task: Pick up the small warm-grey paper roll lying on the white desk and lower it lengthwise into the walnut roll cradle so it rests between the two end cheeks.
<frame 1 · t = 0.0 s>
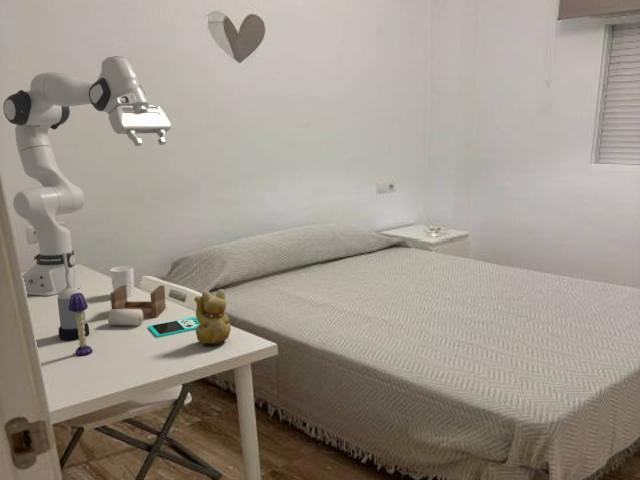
hand: (151, 144, 170), 54 cm above the table, tool tilted 30°, fingers open, 8 cm apart
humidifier: (74, 336, 162), on the table
roll: (126, 325, 170), on the table
toy lamp: (83, 354, 149), on the table
holder: (139, 312, 181), on the table
handheld game console: (178, 329, 168), on the table
white cup: (124, 295, 200), on the table
decorative figurine: (214, 343, 155), on the table
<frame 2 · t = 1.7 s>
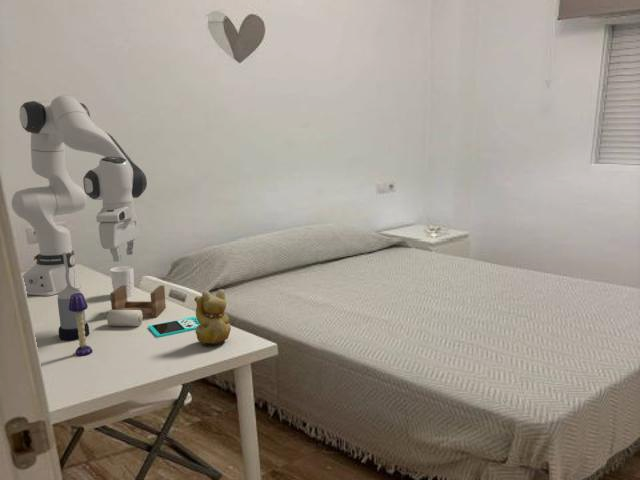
hand: (124, 257, 166), 21 cm above the table, tool pointing down, fingers open, 8 cm apart
roll: (126, 324, 170), on the table, tilted 12°
everything else where it was.
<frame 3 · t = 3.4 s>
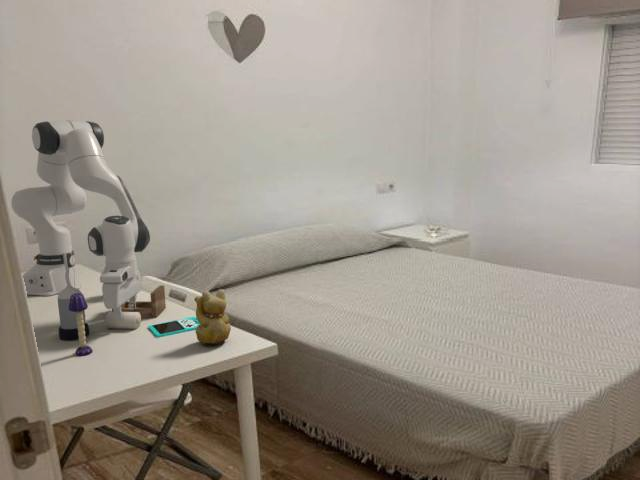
hand: (126, 313, 169), 4 cm above the table, tool pointing down, fingers open, 8 cm apart
roll: (126, 321, 170), point 1 cm above the table, tilted 62°, touching gripper
everything else where it was.
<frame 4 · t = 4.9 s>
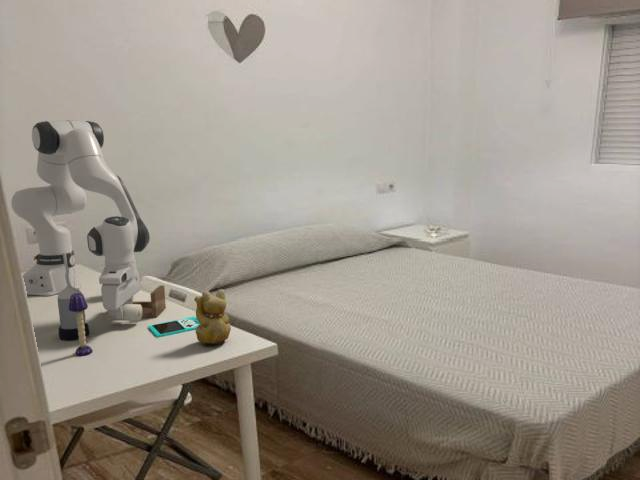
hand: (124, 314, 170), 3 cm above the table, tool pointing down, fingers closed on roll, 5 cm apart
roll: (126, 319, 171), point 1 cm above the table, tilted 14°, touching gripper
everything else where it was.
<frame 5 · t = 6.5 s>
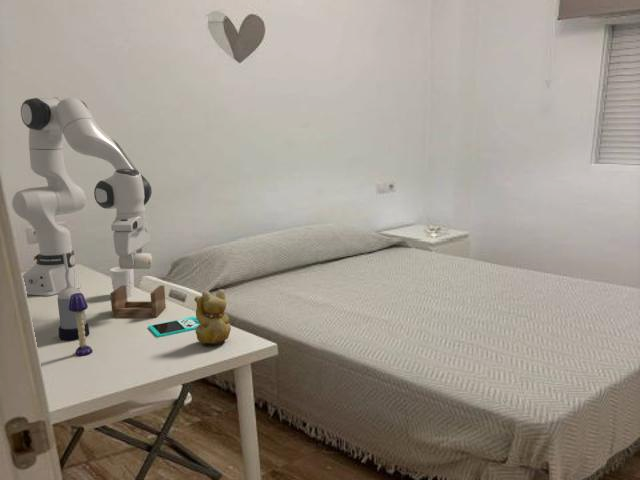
hand: (135, 263, 178), 17 cm above the table, tool pointing down, fingers closed on roll, 5 cm apart
roll: (137, 268, 179), point 15 cm above the table, tilted 13°, touching gripper
everything else where it was.
when the fingers open (4 cm above the table, at t = 9.2 s): roll drops 1 cm, resting on holder.
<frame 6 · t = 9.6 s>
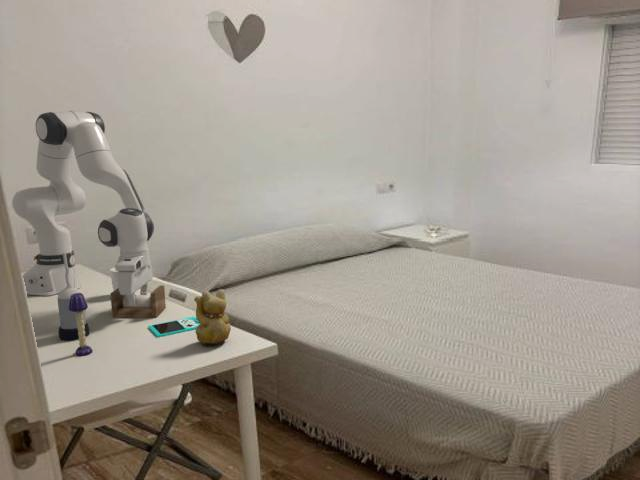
hand: (138, 300, 180), 4 cm above the table, tool pointing down, fingers open, 8 cm apart
roll: (140, 309, 181), point 1 cm above the table, tilted 15°, touching holder
everything else where it was.
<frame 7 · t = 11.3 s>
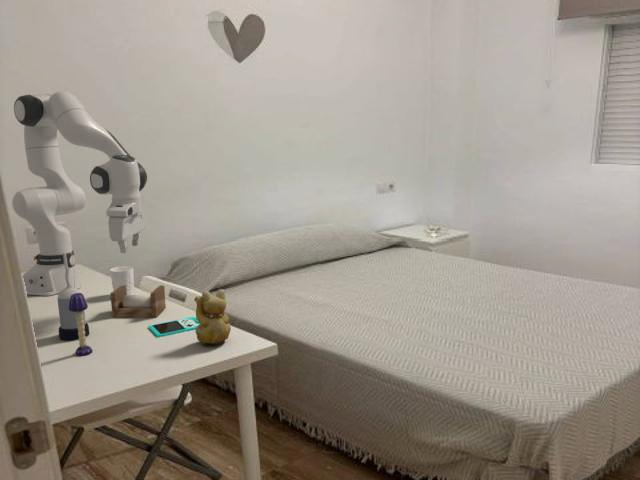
hand: (129, 249, 179), 21 cm above the table, tool pointing down, fingers open, 8 cm apart
nothing on the table moved.
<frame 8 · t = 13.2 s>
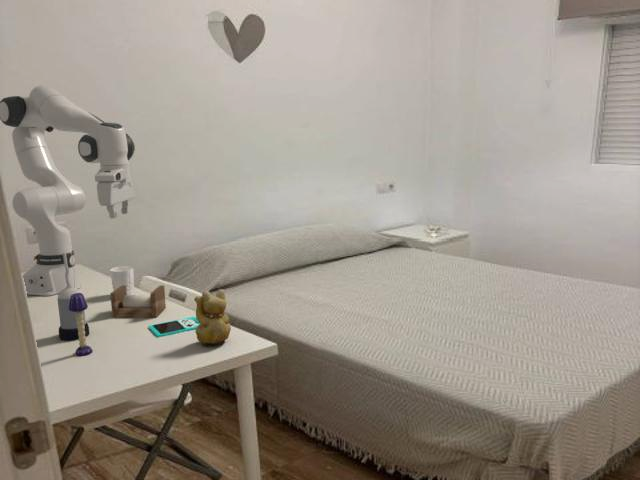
hand: (119, 215, 182), 31 cm above the table, tool pointing down, fingers open, 8 cm apart
nothing on the table moved.
at the end: roll 0.6 cm off-centre on the holder, point 1.1 cm above the holder's base; the gripper is holding nothing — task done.
